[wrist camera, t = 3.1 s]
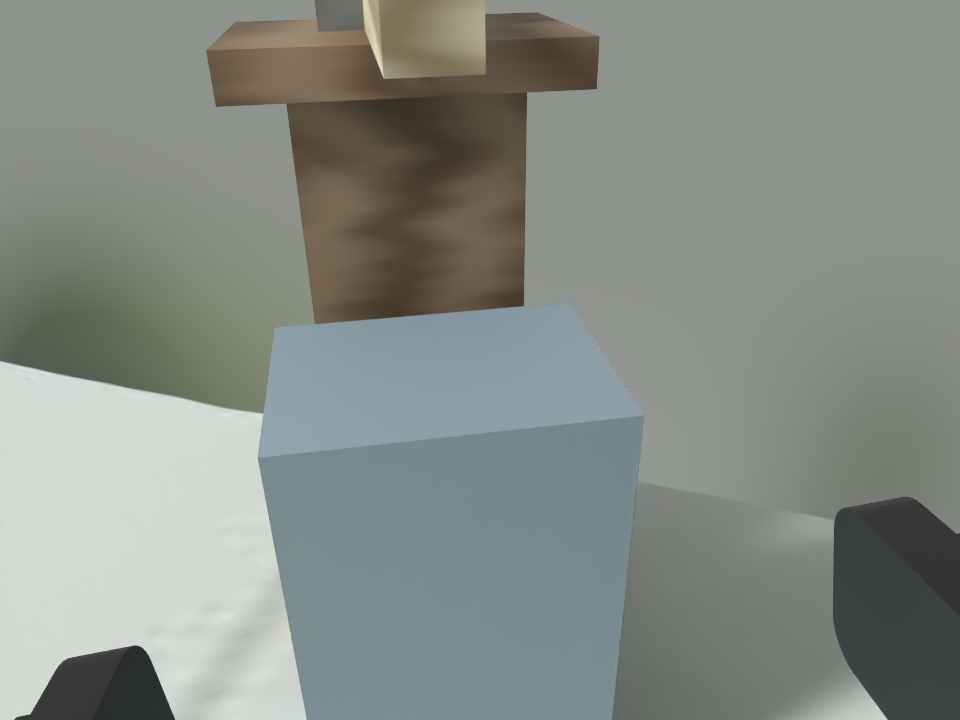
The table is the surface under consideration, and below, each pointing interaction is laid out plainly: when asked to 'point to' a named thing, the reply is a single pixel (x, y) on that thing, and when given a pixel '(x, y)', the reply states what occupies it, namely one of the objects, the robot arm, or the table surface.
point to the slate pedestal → (451, 514)
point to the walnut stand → (405, 159)
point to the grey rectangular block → (414, 34)
